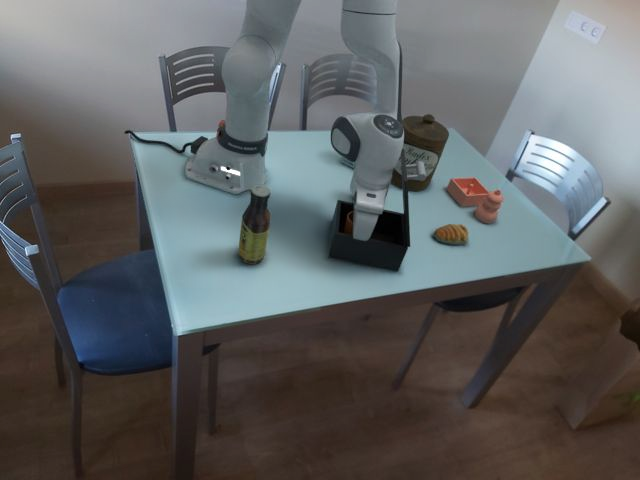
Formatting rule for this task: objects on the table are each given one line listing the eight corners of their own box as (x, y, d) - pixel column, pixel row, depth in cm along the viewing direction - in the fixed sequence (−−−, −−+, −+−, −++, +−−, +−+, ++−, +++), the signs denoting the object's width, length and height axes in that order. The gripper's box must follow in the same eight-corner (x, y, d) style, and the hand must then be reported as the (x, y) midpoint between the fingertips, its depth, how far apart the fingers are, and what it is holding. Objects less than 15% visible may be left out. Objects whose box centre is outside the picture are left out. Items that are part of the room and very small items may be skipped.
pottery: (446, 189, 150) (457, 163, 143) (469, 187, 153) (482, 162, 147) (477, 225, 138) (492, 199, 132) (502, 223, 141) (517, 197, 135)
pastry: (439, 247, 127) (444, 236, 124) (428, 230, 131) (433, 220, 129) (468, 245, 130) (473, 234, 127) (456, 229, 134) (461, 219, 132)
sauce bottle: (238, 246, 112) (246, 177, 99) (264, 248, 113) (275, 181, 100) (236, 265, 107) (244, 196, 94) (263, 268, 108) (275, 199, 95)
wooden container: (381, 182, 145) (403, 118, 131) (387, 160, 156) (408, 98, 142) (427, 196, 144) (454, 133, 130) (430, 173, 156) (455, 112, 141)
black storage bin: (327, 257, 115) (334, 233, 110) (331, 223, 125) (337, 199, 120) (398, 271, 116) (408, 248, 111) (395, 236, 126) (404, 213, 121)
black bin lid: (403, 181, 99) (427, 179, 98) (400, 148, 109) (422, 146, 109) (406, 247, 111) (428, 245, 110) (403, 212, 121) (423, 210, 120)
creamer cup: (342, 240, 116) (347, 223, 113) (342, 225, 121) (347, 208, 117) (364, 244, 117) (370, 227, 113) (364, 229, 121) (370, 213, 117)
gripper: (357, 159, 116) (344, 203, 125) (355, 208, 101) (341, 254, 110) (381, 164, 117) (367, 207, 126) (384, 213, 101) (368, 259, 110)
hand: (355, 229), depth 117 cm, fingers closed on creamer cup, 6 cm apart
